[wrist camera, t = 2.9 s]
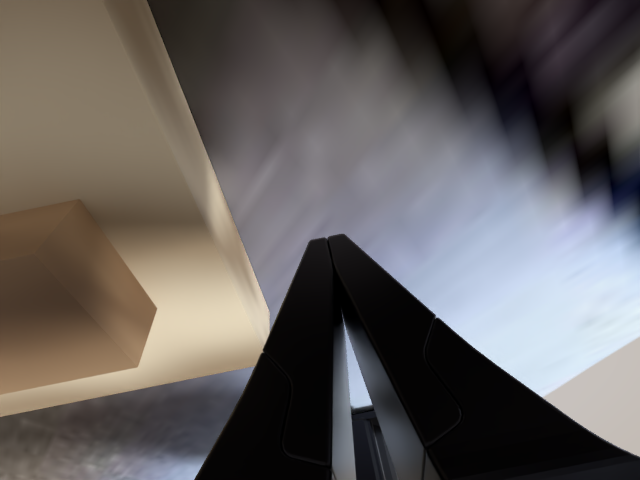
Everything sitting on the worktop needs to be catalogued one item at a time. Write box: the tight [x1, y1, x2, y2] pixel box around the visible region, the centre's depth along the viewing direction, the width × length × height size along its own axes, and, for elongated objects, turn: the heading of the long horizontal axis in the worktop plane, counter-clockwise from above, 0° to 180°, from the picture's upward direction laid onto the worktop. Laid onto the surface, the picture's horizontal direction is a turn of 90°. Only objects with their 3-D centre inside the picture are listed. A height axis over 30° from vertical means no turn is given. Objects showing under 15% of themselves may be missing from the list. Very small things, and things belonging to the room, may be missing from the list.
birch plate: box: [0, 0, 269, 417], centre depth 10 cm, size 12×13×2 cm
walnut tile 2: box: [0, 199, 157, 395], centre depth 8 cm, size 4×4×2 cm
